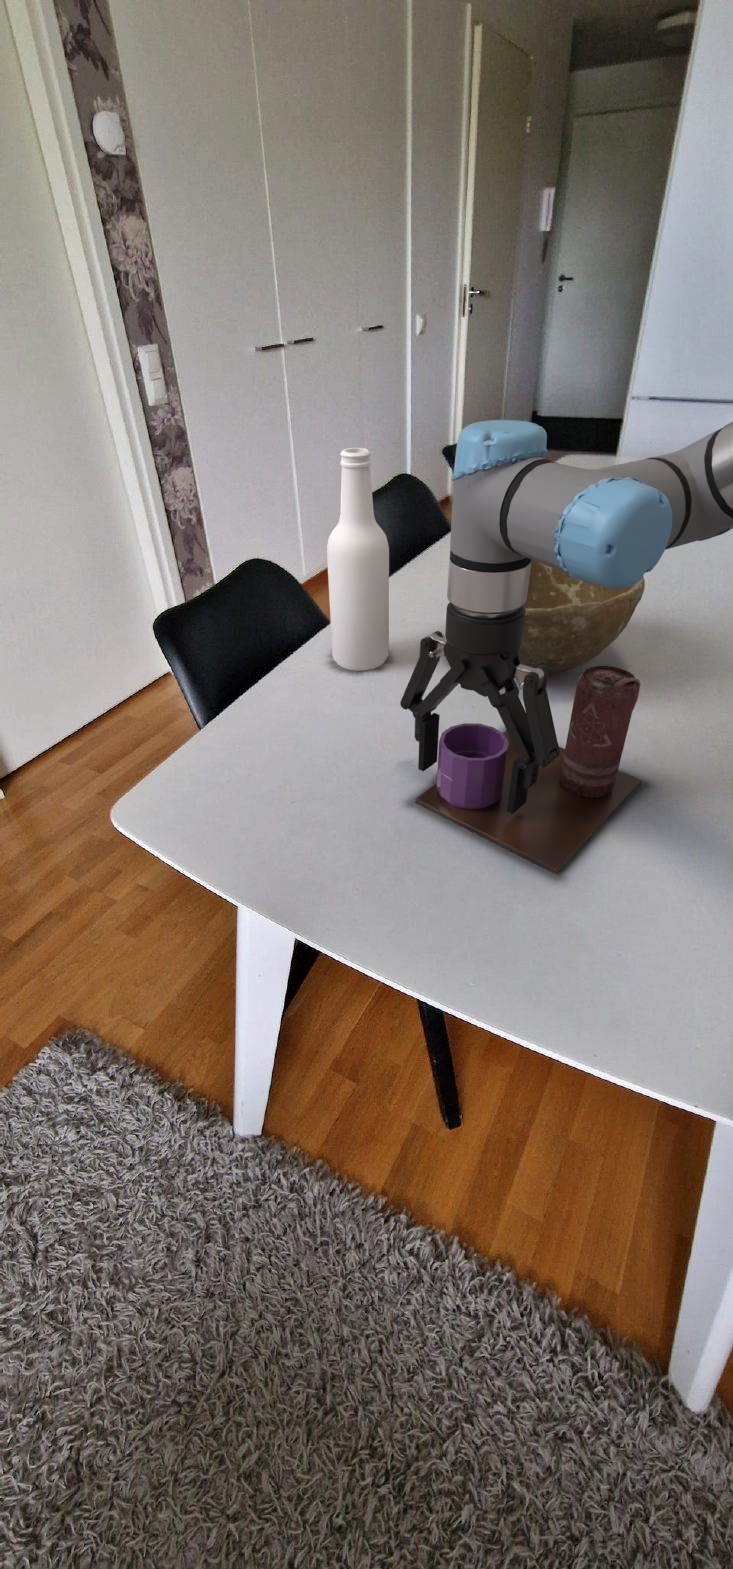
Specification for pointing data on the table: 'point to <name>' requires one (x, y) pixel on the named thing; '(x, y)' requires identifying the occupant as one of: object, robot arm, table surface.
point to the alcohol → (358, 572)
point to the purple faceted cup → (471, 765)
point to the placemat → (538, 814)
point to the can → (598, 730)
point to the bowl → (571, 619)
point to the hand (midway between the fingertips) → (470, 785)
